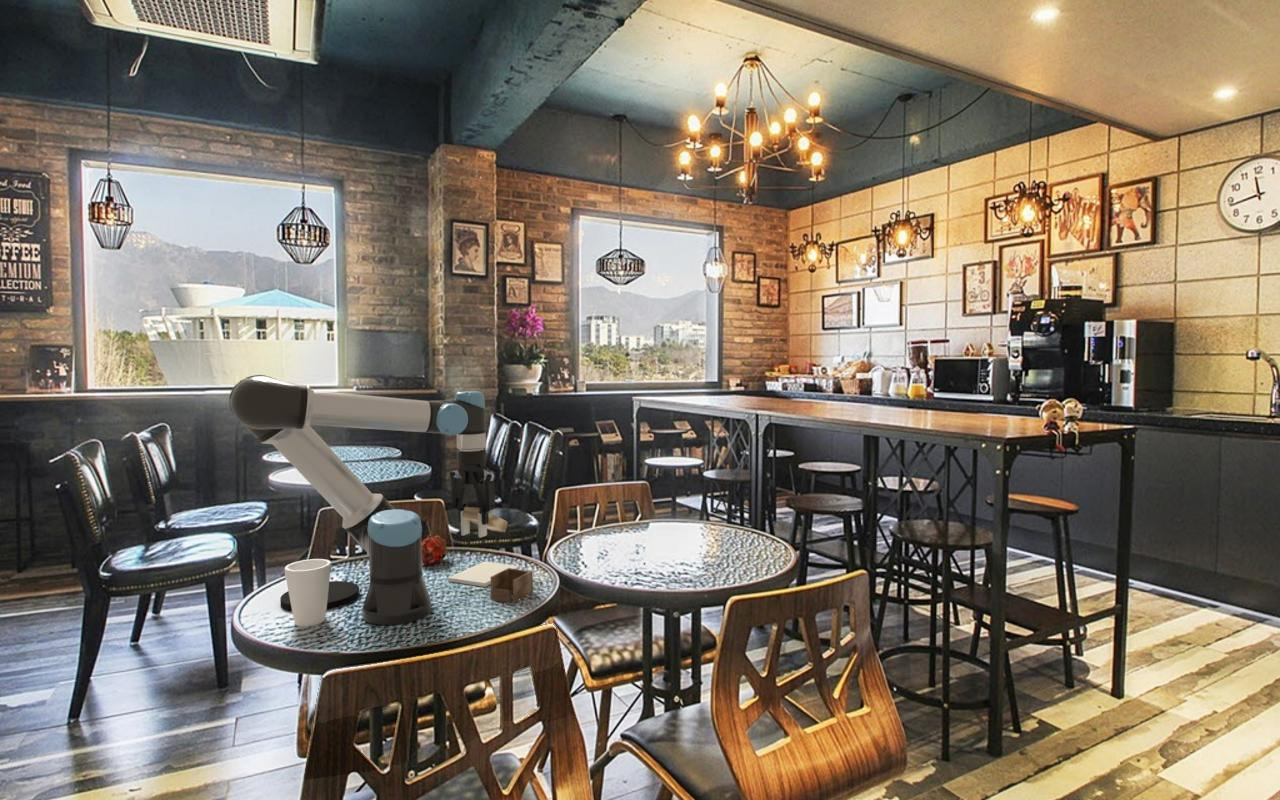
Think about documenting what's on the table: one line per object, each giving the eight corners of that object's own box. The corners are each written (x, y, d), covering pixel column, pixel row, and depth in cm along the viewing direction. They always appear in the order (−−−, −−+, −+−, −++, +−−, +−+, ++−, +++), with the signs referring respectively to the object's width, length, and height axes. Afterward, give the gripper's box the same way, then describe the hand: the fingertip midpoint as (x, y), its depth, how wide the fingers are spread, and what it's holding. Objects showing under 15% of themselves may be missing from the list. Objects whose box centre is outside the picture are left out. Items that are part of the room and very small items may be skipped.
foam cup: (321, 610, 162) (319, 556, 161) (340, 619, 156) (338, 563, 155) (279, 622, 154) (277, 566, 154) (298, 632, 149) (295, 573, 148)
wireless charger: (370, 588, 178) (370, 581, 178) (339, 613, 161) (339, 605, 160) (303, 588, 179) (303, 581, 179) (265, 613, 161) (265, 605, 161)
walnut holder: (513, 603, 165) (512, 581, 165) (488, 599, 168) (488, 577, 168) (532, 592, 173) (532, 571, 172) (509, 589, 176) (508, 568, 175)
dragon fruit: (439, 561, 206) (431, 579, 195) (415, 546, 205) (405, 564, 193) (455, 539, 206) (448, 556, 194) (431, 524, 204) (422, 540, 192)
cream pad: (484, 587, 178) (484, 583, 177) (448, 581, 182) (448, 577, 182) (519, 569, 192) (519, 566, 192) (484, 564, 197) (484, 561, 197)
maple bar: (476, 519, 180) (479, 508, 181) (461, 517, 182) (464, 506, 183) (505, 532, 191) (508, 521, 192) (490, 530, 193) (493, 520, 194)
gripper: (508, 448, 181) (510, 534, 182) (453, 446, 188) (456, 528, 190) (490, 452, 174) (493, 541, 175) (435, 449, 181) (438, 535, 183)
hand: (474, 535), depth 183 cm, fingers closed on maple bar, 5 cm apart
